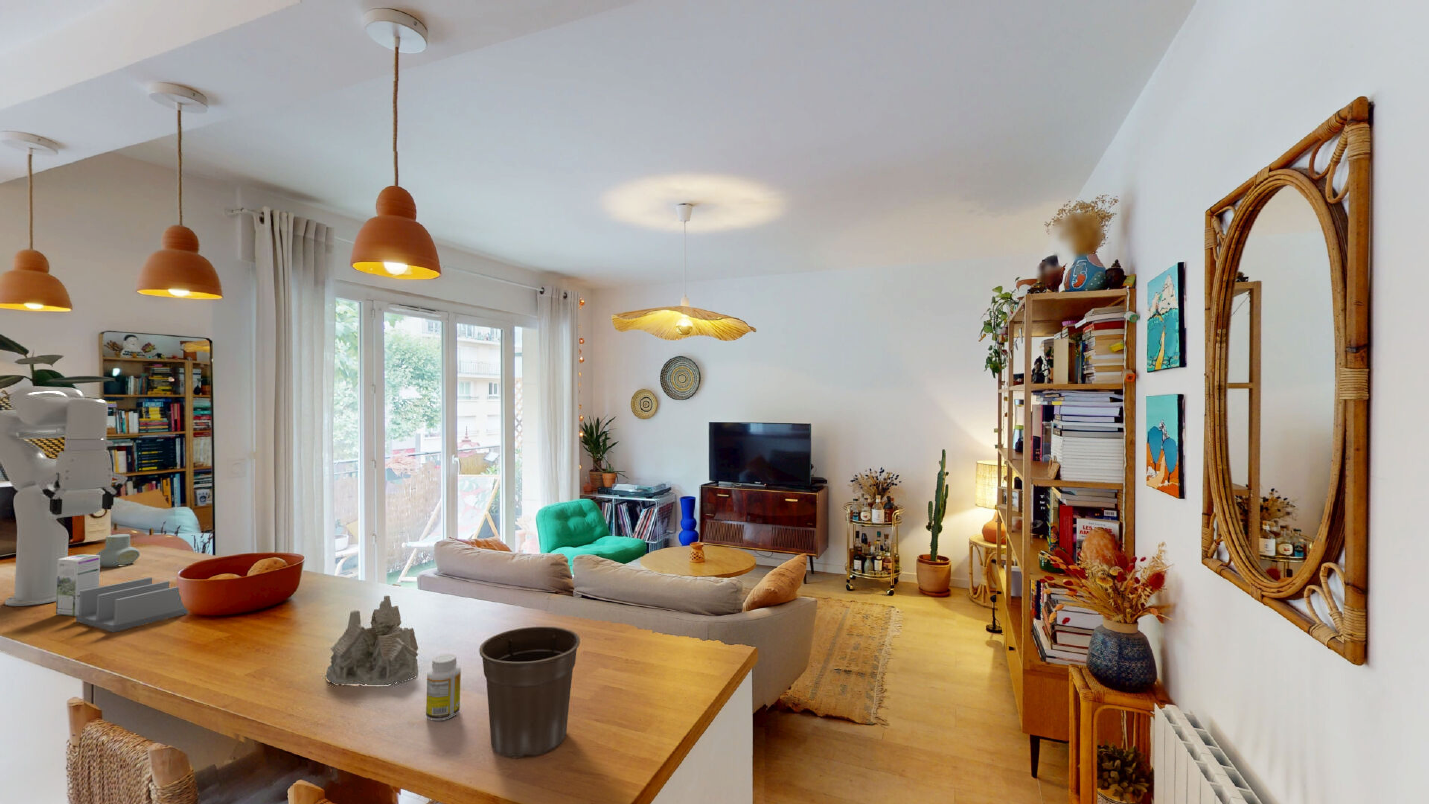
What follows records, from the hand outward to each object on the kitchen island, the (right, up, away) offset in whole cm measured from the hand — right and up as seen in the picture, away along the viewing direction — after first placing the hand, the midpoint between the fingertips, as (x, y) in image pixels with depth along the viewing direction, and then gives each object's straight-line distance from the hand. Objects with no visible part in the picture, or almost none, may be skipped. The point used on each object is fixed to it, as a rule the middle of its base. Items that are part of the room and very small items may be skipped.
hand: (82, 511), depth 156 cm
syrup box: (-1, -26, -1) cm, 26 cm away
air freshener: (-36, -27, +45) cm, 64 cm away
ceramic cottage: (+94, -28, -32) cm, 104 cm away
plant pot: (+134, -28, -55) cm, 147 cm away
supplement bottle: (+116, -28, -48) cm, 129 cm away
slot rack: (+17, -26, -3) cm, 31 cm away
